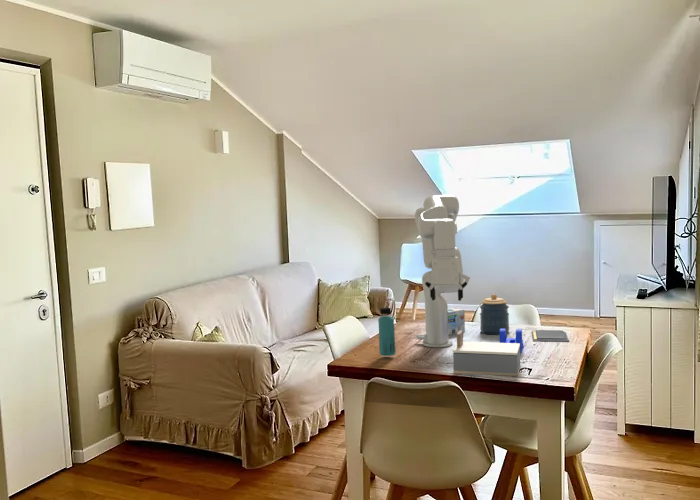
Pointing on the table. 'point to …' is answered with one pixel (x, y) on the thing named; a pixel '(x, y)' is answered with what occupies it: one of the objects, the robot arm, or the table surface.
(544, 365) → the table surface
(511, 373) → the grey tray
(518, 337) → the bracket
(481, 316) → the canister
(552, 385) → the table surface
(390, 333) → the beverage bottle
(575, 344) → the table surface
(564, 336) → the wallet
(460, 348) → the lid
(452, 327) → the light bulb box
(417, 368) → the table surface
